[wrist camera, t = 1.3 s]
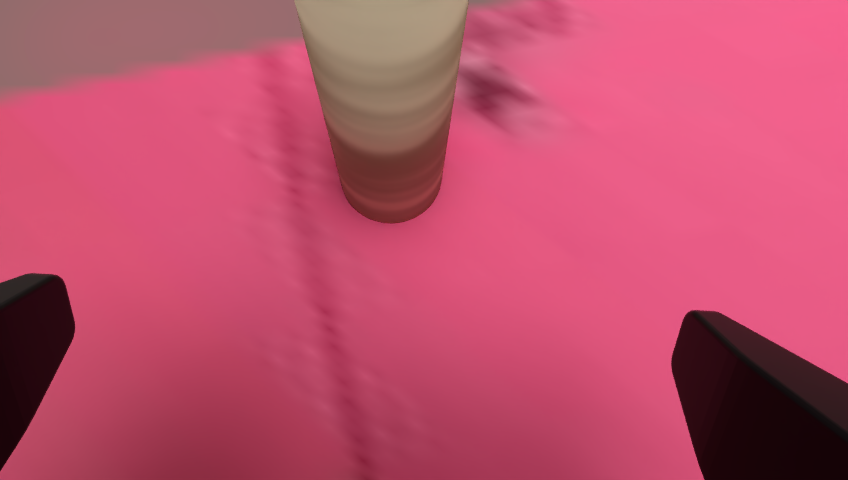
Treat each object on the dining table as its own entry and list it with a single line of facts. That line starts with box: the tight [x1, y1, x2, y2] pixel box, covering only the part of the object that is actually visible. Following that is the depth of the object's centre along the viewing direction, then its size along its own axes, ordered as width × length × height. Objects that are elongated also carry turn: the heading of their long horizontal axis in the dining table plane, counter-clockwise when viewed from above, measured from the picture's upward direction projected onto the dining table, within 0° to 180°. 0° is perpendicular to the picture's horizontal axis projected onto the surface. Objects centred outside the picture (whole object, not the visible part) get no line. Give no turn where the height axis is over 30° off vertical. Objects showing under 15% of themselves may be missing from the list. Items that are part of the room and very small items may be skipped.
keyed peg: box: [294, 0, 469, 223], centre depth 18 cm, size 5×4×12 cm
